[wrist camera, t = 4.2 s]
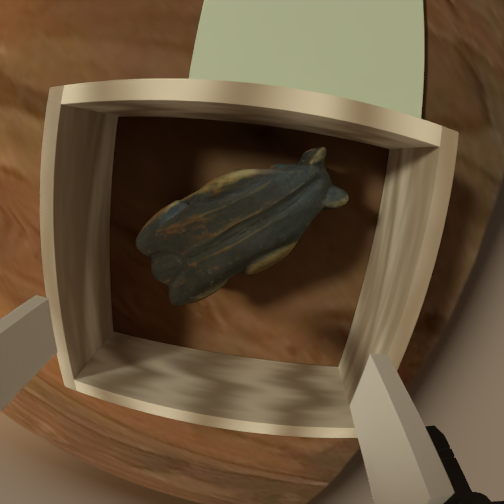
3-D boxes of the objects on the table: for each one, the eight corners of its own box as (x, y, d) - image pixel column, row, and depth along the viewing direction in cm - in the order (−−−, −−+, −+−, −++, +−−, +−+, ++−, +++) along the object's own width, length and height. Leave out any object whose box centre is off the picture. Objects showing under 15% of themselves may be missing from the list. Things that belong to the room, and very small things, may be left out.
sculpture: (306, 131, 21) (319, 114, 15) (348, 208, 23) (375, 223, 16) (156, 217, 24) (114, 235, 17) (197, 286, 25) (171, 326, 18)
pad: (189, 90, 21) (187, 89, 21) (221, -58, 17) (220, -62, 16) (416, 129, 21) (419, 129, 20) (418, -22, 16) (420, -25, 16)
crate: (104, 338, 28) (64, 386, 20) (107, 102, 22) (49, 87, 14) (346, 377, 28) (364, 437, 20) (404, 138, 21) (458, 132, 14)
